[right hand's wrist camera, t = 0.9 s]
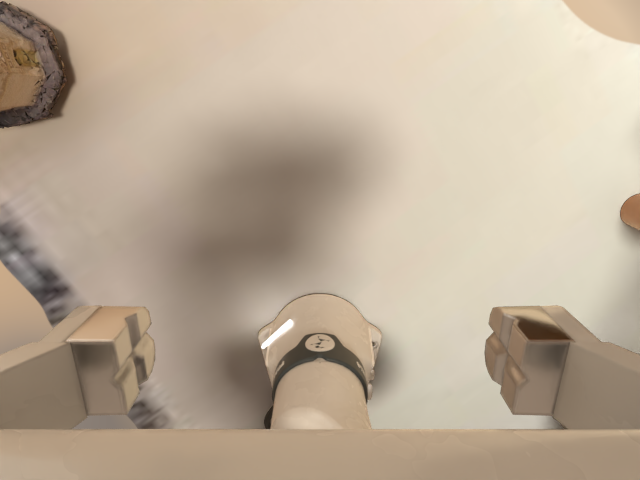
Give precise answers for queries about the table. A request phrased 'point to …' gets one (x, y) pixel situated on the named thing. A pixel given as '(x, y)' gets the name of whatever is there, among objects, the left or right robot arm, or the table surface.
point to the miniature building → (27, 68)
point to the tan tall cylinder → (631, 212)
